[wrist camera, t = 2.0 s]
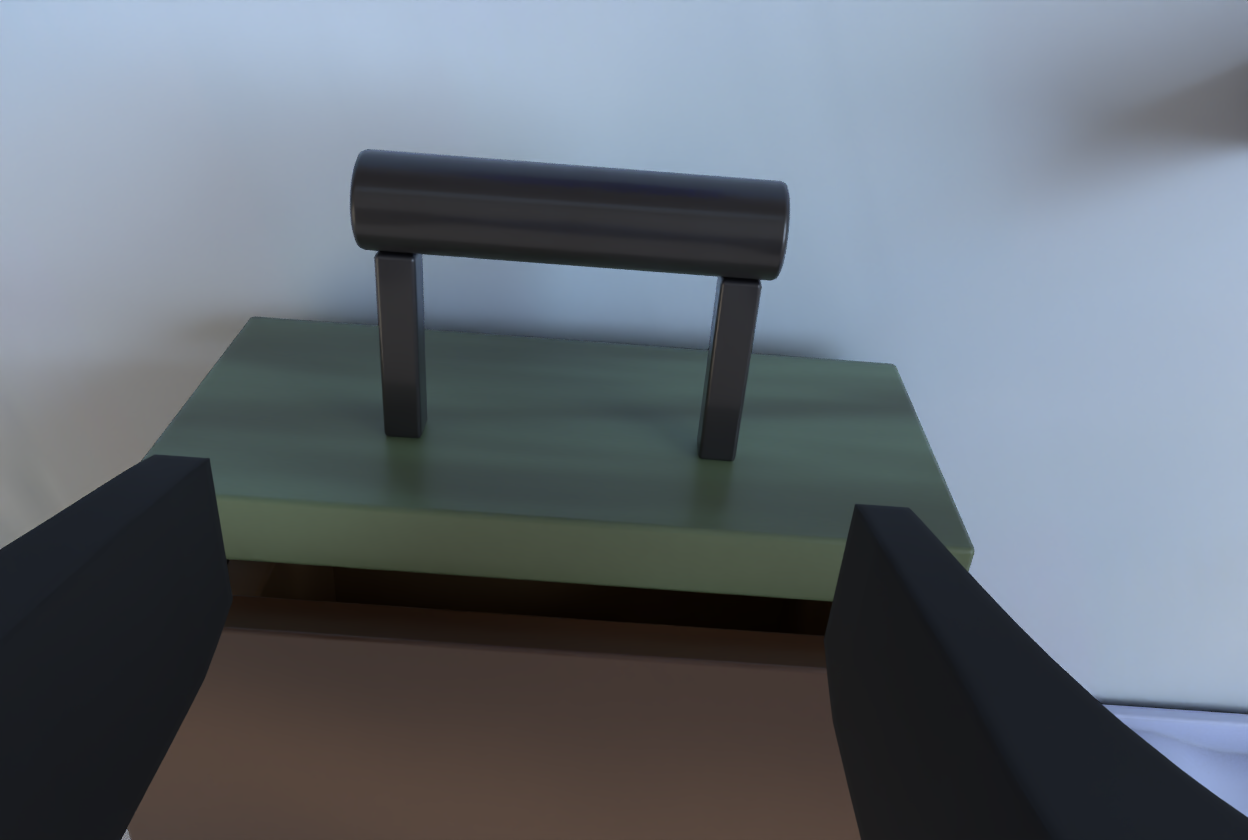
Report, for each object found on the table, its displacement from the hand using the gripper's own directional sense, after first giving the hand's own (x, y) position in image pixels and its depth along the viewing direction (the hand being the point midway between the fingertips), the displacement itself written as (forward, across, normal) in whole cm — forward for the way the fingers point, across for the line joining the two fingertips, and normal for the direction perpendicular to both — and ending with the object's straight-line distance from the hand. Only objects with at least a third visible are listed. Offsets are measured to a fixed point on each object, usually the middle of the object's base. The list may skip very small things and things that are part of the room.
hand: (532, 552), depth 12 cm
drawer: (+9, 0, +6) cm, 10 cm away
